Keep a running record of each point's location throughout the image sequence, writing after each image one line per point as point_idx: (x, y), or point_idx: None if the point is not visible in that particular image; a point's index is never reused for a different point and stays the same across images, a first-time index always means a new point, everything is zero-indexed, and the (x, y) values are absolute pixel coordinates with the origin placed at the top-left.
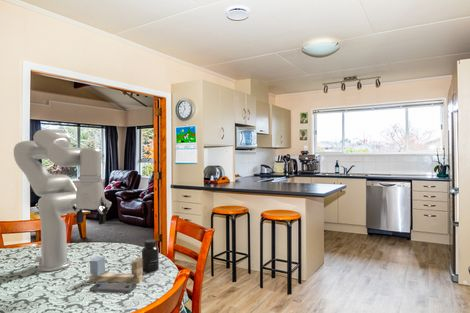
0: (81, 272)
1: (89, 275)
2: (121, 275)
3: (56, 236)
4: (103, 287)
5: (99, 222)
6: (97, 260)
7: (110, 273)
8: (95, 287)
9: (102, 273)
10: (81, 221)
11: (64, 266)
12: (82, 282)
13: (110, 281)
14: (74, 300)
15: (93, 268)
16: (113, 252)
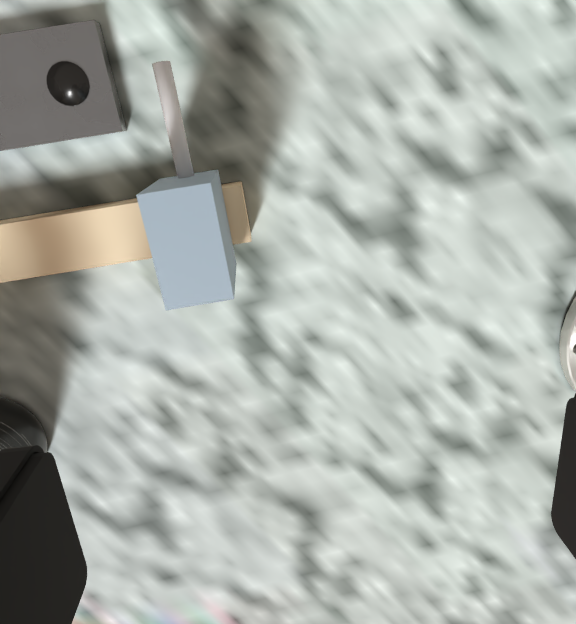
0: (404, 291)
1: (162, 104)
2: (15, 248)
3: None
4: (5, 59)
5: (3, 470)
6: (149, 209)
7: (124, 260)
8: (62, 43)
9: None
10: (567, 486)
11: (570, 322)
12: (270, 147)
13: (89, 206)
14: None
15: (184, 179)
16: (435, 596)
